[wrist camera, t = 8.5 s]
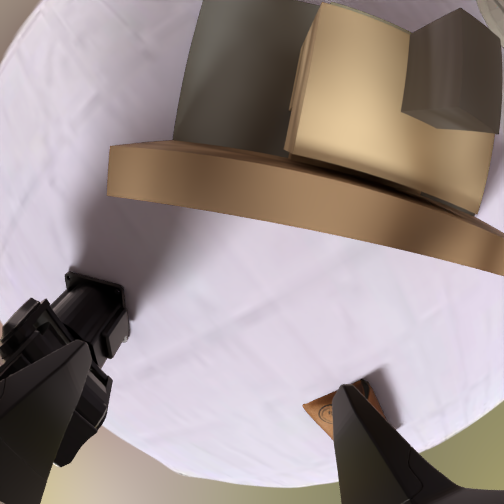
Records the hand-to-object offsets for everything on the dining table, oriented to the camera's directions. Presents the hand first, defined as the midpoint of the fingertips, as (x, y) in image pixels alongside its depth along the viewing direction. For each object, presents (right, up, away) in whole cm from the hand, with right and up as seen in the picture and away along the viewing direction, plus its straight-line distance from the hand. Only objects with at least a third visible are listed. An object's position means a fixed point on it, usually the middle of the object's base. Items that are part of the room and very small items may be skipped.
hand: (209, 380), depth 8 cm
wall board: (+9, +14, +8) cm, 18 cm away
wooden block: (+9, +13, +7) cm, 17 cm away
